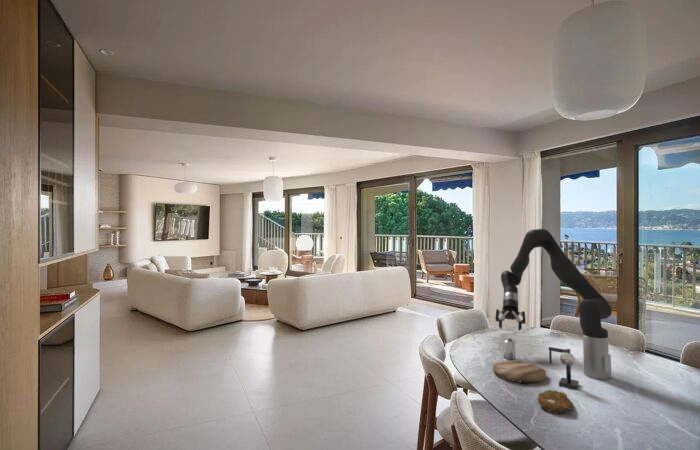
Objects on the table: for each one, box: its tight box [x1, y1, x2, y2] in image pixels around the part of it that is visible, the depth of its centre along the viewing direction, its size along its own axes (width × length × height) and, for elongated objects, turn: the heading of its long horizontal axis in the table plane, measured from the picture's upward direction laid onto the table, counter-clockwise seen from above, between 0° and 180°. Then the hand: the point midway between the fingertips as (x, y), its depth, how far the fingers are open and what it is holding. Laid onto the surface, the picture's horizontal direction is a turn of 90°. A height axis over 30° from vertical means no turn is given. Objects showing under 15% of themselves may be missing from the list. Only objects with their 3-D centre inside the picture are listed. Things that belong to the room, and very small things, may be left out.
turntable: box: [492, 360, 547, 383], centre depth 161 cm, size 21×21×2 cm
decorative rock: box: [537, 389, 575, 415], centre depth 133 cm, size 11×4×15 cm
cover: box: [501, 337, 518, 361], centre depth 178 cm, size 7×7×11 cm
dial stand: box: [548, 346, 580, 390], centre depth 151 cm, size 10×6×14 cm, turn 49°
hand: (510, 328), depth 187 cm, fingers open, 8 cm apart
